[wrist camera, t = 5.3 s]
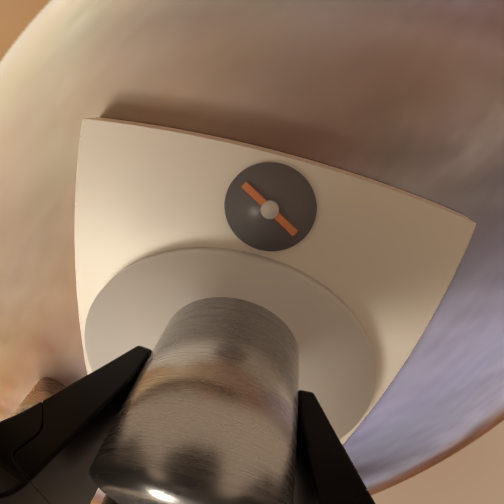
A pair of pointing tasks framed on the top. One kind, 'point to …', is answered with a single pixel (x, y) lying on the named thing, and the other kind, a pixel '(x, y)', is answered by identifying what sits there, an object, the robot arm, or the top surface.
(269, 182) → the scale
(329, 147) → the top surface
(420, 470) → the top surface
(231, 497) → the cylinder
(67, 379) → the top surface
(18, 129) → the top surface
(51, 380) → the cylinder
